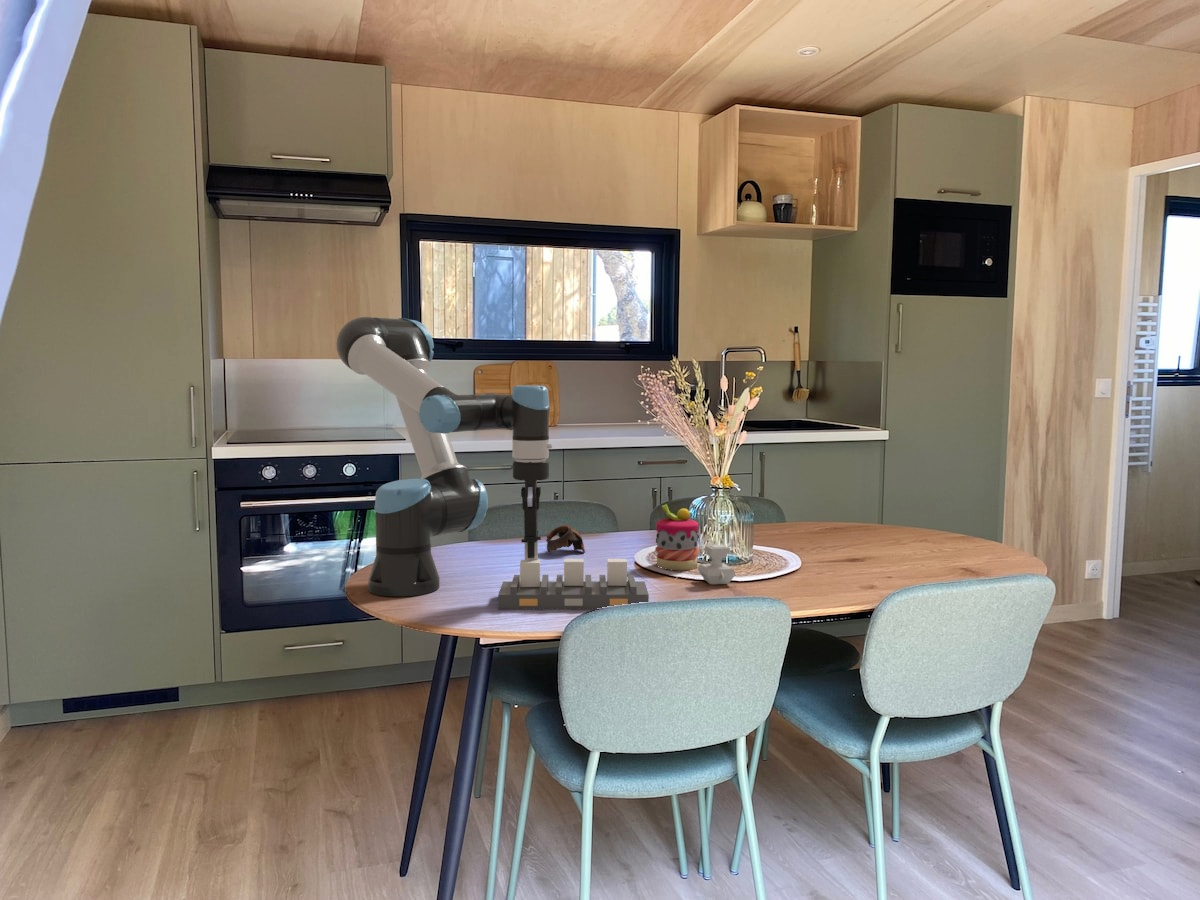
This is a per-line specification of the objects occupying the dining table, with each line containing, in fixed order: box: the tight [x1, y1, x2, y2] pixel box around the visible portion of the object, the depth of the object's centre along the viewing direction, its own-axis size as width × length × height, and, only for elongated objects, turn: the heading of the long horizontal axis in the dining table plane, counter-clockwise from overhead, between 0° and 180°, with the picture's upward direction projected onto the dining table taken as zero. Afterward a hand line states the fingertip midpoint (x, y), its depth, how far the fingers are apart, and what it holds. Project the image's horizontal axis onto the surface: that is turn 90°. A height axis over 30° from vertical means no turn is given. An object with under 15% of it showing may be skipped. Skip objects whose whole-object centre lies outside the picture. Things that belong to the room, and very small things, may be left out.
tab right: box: [606, 558, 628, 586], centre depth 186 cm, size 4×3×5 cm
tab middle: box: [563, 558, 585, 586], centre depth 185 cm, size 4×3×5 cm
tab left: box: [519, 559, 541, 587], centre depth 184 cm, size 4×3×5 cm
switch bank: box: [497, 574, 650, 610], centre depth 183 cm, size 30×11×4 cm, turn 91°
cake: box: [654, 503, 700, 571], centre depth 217 cm, size 10×11×15 cm
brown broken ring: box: [546, 524, 586, 555], centre depth 233 cm, size 12×10×8 cm
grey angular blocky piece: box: [697, 544, 736, 586], centre depth 200 cm, size 9×7×8 cm
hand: (531, 572), depth 186 cm, fingers closed
